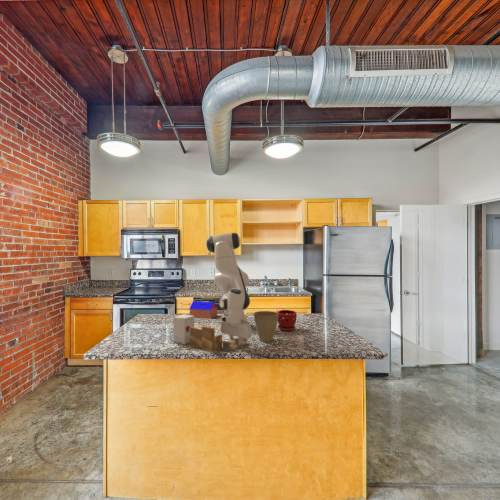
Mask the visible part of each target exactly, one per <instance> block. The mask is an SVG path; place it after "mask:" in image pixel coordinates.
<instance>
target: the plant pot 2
mask: <svg viewBox="0 0 500 500" xmlns="http://www.w3.org/2000/svg"><path fill="white" fill-rule="evenodd" d="M277 313H278V314H279V315H278V322H277V325H278V326H277V328H278V329H279V330H280V331H285V332H291V331H293V330H295V329H296V326H295V325H296V322H297V316H298V315H297V312H296V311H294V310H290V309H281V310H278V311H277Z"/></svg>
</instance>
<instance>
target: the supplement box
mask: <svg viewBox="0 0 500 500" xmlns="http://www.w3.org/2000/svg"><path fill="white" fill-rule="evenodd" d="M172 321H173V322H172V323H173V325H172V326H173V328H172V329H173V330H172V333H173V334H172V336H173V337H172V338H173V340H172V342H173V343H176V344H182V345H186V344H190V327H195V317H194V316H193V315H190V314H186V313H185V314H184V313H183V314H180V315H175V316H173V320H172Z"/></svg>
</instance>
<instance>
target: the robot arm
mask: <svg viewBox="0 0 500 500" xmlns="http://www.w3.org/2000/svg"><path fill="white" fill-rule="evenodd" d="M205 245H206V249H207V250H208V251H209V252H210V253H213V254H214V266H215V268H216V271H218V272H216V273H215V274H214V277H213V282H214V284H215V285H216V286H217V287H218V288H219V289H220V292H221V294H222V295H221V296H220V297H219V300H218V304H219V308H221V310H222V316H221V317H220V321H221V322H220V332H221V334H224V335H228V336H229V337H228V338H229V339H230V340H232V339H235V338H234V337H236V338H238V339H239V340H238V341H237V344H238V345H240V344H241V340H242V338H246V339H247V340H248V339H250V338H251V337H252V335H253V332H252V325H251V322H250V321H248V317H247V315H246V314H245V313H244V310H246V309H247V308H249V306H250V304H251V300H250V297H249V294H248V292H247V288H246V287H247V286H248V285H249V281H250V277H249V275H248V274H247V272H245V271H243V270H242V269H241V268H240V266H239V265H238V262H237V259H236V254H235V253H236V252H235V250H237V249H239V247H240V245H241V238H240V236H239V233H237V232H230V233H228V232H227V233H221V234H217V235H210V236H209V237H207V238H206V242H205Z"/></svg>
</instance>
